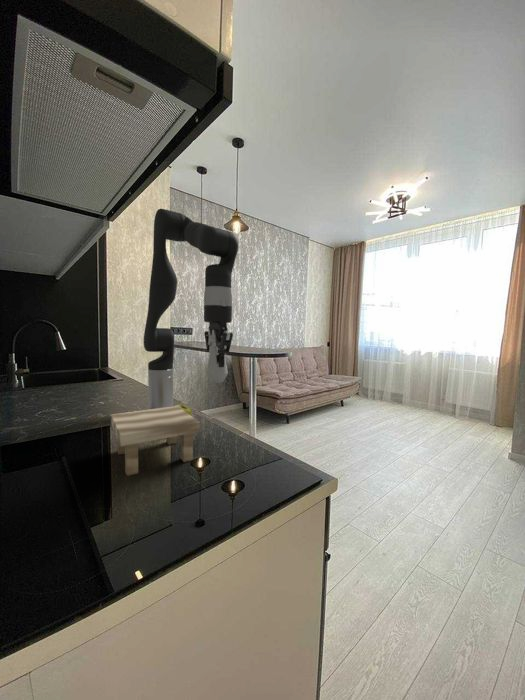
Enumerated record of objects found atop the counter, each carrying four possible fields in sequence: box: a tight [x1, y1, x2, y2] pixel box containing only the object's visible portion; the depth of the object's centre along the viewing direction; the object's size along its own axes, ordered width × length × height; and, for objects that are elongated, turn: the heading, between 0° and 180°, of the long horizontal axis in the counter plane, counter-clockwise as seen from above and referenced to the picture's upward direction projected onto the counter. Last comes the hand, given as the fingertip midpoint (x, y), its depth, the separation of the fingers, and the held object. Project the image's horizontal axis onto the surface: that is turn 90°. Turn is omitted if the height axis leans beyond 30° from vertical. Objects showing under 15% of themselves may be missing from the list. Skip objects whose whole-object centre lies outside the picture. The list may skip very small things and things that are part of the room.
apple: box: [173, 400, 193, 417], centre depth 96 cm, size 8×8×10 cm
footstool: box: [110, 405, 201, 476], centre depth 76 cm, size 18×18×10 cm
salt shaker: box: [206, 334, 229, 383], centre depth 80 cm, size 6×6×13 cm
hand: (217, 367), depth 80 cm, fingers closed on salt shaker, 3 cm apart
